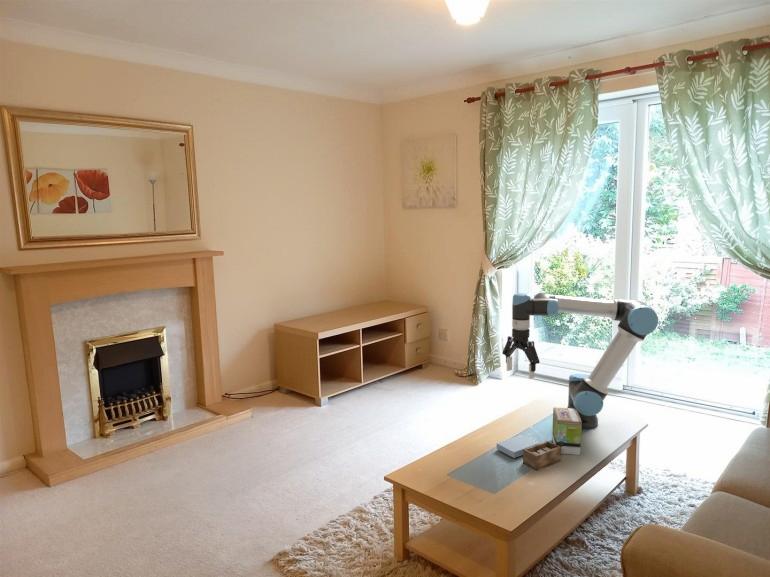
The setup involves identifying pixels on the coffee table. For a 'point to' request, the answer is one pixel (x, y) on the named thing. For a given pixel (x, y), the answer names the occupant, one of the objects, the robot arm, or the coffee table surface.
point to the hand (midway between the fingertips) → (520, 374)
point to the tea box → (567, 430)
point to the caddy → (541, 455)
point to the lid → (516, 445)
